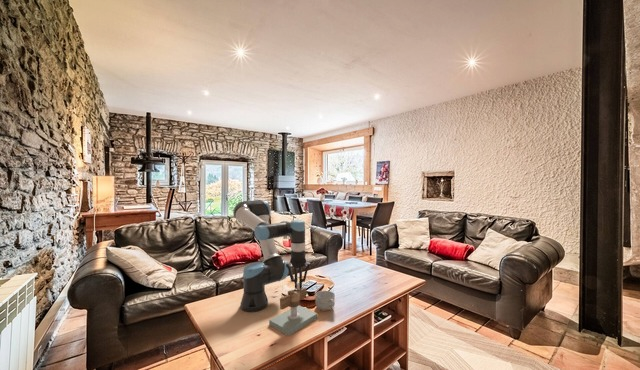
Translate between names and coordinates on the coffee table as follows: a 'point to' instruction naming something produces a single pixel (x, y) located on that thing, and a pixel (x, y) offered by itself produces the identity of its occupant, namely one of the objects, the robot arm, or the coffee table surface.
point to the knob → (292, 298)
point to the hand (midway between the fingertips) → (298, 294)
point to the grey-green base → (293, 319)
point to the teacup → (324, 300)
